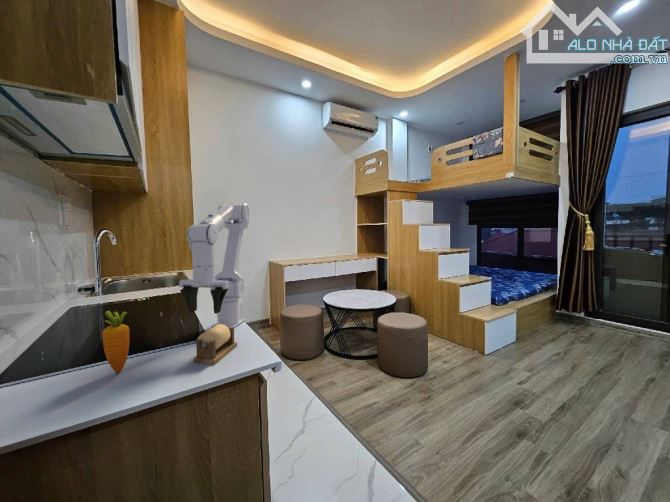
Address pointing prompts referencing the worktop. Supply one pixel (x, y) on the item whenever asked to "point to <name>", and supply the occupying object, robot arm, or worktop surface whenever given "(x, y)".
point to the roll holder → (214, 350)
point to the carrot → (116, 341)
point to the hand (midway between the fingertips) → (205, 311)
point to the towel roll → (215, 336)
